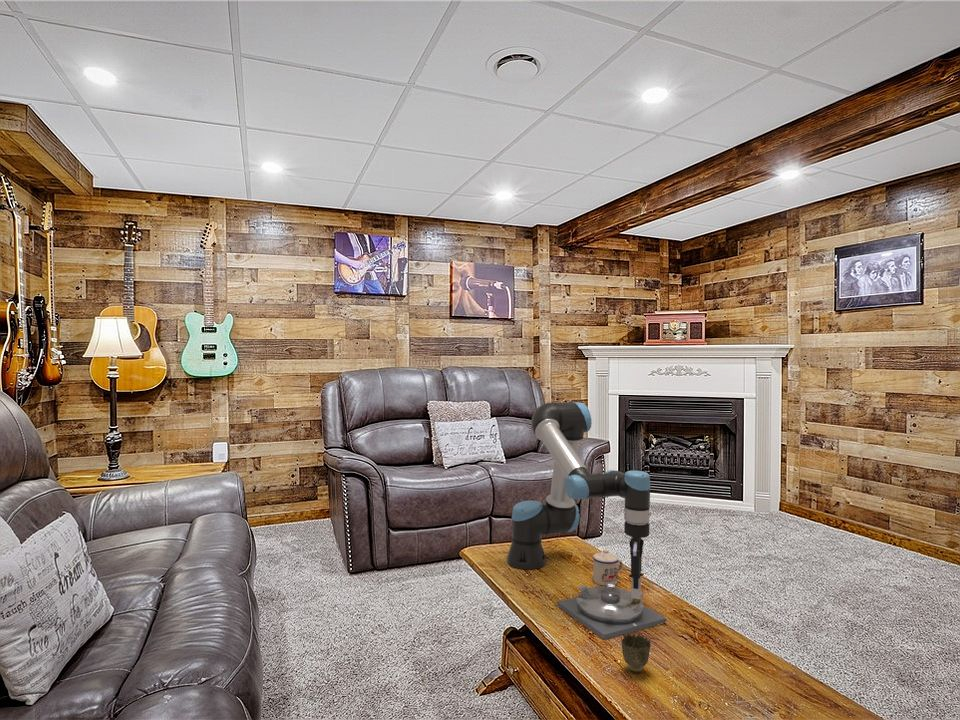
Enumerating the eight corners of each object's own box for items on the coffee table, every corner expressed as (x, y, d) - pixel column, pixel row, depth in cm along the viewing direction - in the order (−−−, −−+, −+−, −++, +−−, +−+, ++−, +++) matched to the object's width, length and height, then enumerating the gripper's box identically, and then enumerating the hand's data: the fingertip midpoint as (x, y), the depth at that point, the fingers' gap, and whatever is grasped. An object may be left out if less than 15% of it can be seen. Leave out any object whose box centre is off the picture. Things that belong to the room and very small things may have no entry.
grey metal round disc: (574, 620, 171) (574, 594, 171) (580, 590, 193) (580, 567, 192) (644, 629, 166) (645, 602, 166) (642, 597, 187) (643, 573, 187)
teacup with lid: (602, 588, 199) (603, 555, 199) (587, 578, 207) (588, 547, 207) (630, 583, 204) (630, 551, 203) (614, 574, 212) (614, 543, 212)
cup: (628, 659, 153) (628, 630, 153) (654, 669, 148) (655, 639, 148) (615, 671, 147) (616, 640, 147) (642, 682, 143) (643, 650, 142)
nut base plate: (557, 605, 185) (557, 600, 185) (615, 592, 195) (615, 587, 195) (603, 639, 163) (604, 634, 163) (666, 623, 174) (666, 617, 174)
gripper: (647, 528, 168) (646, 608, 168) (651, 517, 180) (650, 591, 180) (622, 525, 171) (621, 604, 171) (626, 515, 183) (626, 588, 183)
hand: (636, 597), depth 175 cm, fingers closed
